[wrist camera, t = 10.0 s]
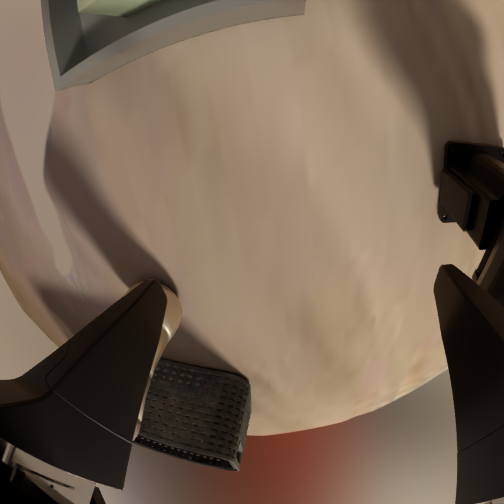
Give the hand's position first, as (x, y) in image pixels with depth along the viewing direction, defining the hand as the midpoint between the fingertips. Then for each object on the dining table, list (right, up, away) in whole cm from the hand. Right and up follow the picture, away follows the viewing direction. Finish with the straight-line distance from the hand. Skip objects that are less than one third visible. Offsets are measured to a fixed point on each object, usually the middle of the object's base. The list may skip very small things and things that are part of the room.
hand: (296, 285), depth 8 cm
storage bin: (-15, -22, +36) cm, 45 cm away
